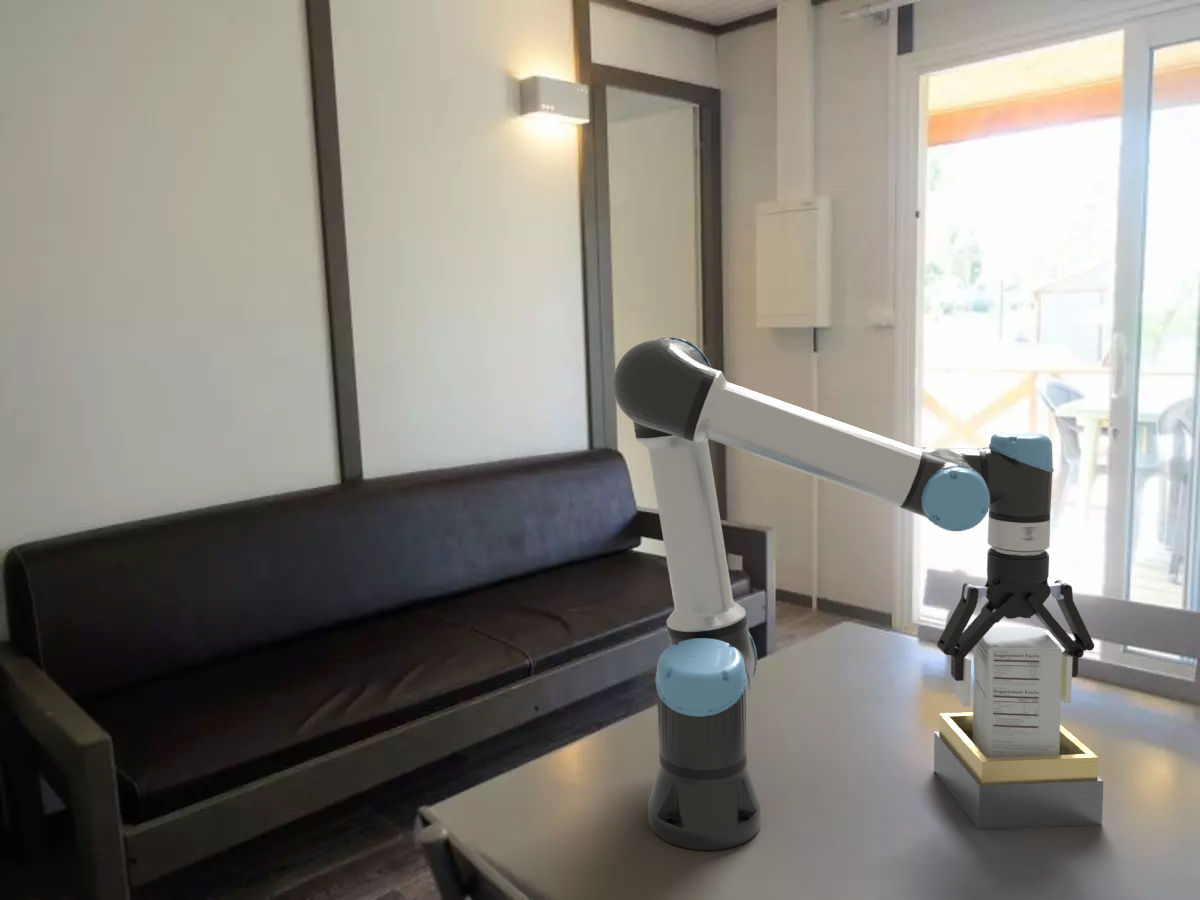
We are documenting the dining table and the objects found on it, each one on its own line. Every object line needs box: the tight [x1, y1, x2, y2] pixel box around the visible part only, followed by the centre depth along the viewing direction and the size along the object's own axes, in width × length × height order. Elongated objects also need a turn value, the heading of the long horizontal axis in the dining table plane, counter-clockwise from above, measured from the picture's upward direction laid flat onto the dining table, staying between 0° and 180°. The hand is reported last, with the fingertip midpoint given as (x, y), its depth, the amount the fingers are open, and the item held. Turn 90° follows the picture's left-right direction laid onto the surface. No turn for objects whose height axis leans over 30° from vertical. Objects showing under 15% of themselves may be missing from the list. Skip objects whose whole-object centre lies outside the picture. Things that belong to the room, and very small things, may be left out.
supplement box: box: [972, 626, 1063, 758], centre depth 127 cm, size 10×9×17 cm
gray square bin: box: [933, 711, 1104, 830], centre depth 129 cm, size 16×16×9 cm
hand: (1013, 701), depth 127 cm, fingers open, 13 cm apart
